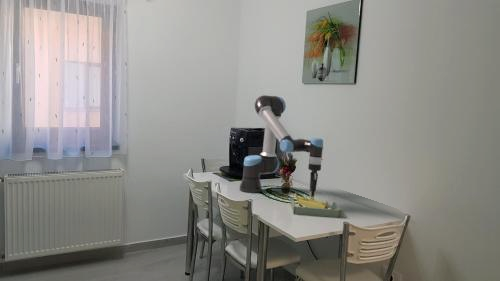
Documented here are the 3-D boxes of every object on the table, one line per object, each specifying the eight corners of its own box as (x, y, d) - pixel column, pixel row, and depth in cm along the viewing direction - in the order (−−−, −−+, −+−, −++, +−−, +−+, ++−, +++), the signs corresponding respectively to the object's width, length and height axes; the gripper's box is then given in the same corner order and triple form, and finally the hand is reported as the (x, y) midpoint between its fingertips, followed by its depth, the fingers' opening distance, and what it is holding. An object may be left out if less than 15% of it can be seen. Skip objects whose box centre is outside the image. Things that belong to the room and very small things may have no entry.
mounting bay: (290, 205, 224) (291, 198, 224) (334, 208, 224) (334, 201, 223) (293, 214, 208) (294, 206, 207) (340, 217, 207) (341, 209, 207)
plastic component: (328, 204, 224) (326, 200, 216) (325, 216, 222) (323, 212, 214) (297, 196, 232) (294, 192, 224) (294, 207, 230) (290, 204, 222)
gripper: (323, 165, 221) (319, 204, 223) (319, 162, 234) (316, 198, 236) (310, 164, 221) (306, 203, 223) (307, 161, 234) (304, 197, 236)
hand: (311, 201), depth 230 cm, fingers closed
